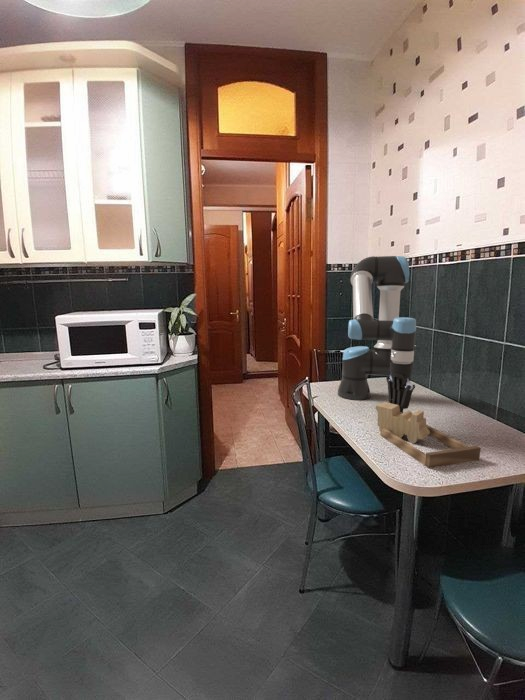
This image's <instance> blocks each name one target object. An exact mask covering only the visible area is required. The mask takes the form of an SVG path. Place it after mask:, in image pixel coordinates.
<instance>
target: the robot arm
mask: <svg viewBox="0 0 525 700" xmlns="http://www.w3.org/2000/svg"><path fill="white" fill-rule="evenodd" d="M408 261H409V260H408V259H407V258H406V256H401V255H399V256H397V255H389V256H388V255H387V256H385V255H384V256H374V255H373V256H367V257H365V258H363V259H361V260H360V261H359V262H358V263H357V264H356V265H355V266H354V268H353V269H352V271H351V273H350V284H351V286H352V303H353V304H352V310H353V311H352V313H353V318H352V319H350V320H348V326H347V328H348V330H347V335H348V338H349V339H351V340H357V341H361V340H362V341H363V340H364V341H365V340H367V341H377V342H376V344H375V345H373V349H370V347H369V346H362V345H359V346H351V347H348V348H345V349H344V350H343V353H342V354H343V355H342V370H341V371H342V373H341V379H340V383H339V386H338V389H337V395H338V396H339V397H341V398H343V399H348V400H355V401H358V400H359V401H361V400H367V399H370V398H371V390H370V386H369V382H368V376H383V377H385V376H386V377H385V379H386V382H387V391H388V392H387V393H388V403H392V404H396V405H399V406H400V412H403V413H404V410H406V409H408V408H409V406H410V402H411V398H412V394H413V391H414V390H415V388H416V386H415V384H412V382H411V374H413V369H414V368H413V367H414V364H413V362H414V358H415V356H414V355H415V344H416V332H417V320H416V318H413V317H400V305H401V291H402V290H403V289H404V288H405V284H407V283H409V280H410V265H409V262H408ZM375 283H376V287H377V288H378V290H379V312H378V320H376V319H375V320H374V310H373V296H372V295H373V294H372V284H375Z"/></svg>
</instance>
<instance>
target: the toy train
mask: <svg viewBox="0 0 525 700" xmlns="http://www.w3.org/2000/svg"><path fill="white" fill-rule="evenodd" d="M375 411H377V423H376V424H377V426H378V428H379V431H380V432H381V428H385V429H387V430H388V431H390V432H391V433H393V434H395V435H396V436H398V437H399V438H401V439H403V437H404V436H406V437H407V441H408V443H409V442H410V444H415V443H417V442H418V441H419V440H421V441H422V440H424V439H426V437H428V436H429V434H430V431H429V429H428V428H427V426H426V425H427V418H426V417H424V414H425V411H424V410H421V409H418V410H417V411H415V412H412V411H411V410H406V411H403V412H400V406H399V405H396V404H392V403H389V402H387V401H383V402H382V403H380V404H377V405H376V406H375ZM380 432H379V433H380Z"/></svg>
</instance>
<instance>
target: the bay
mask: <svg viewBox="0 0 525 700" xmlns="http://www.w3.org/2000/svg"><path fill="white" fill-rule="evenodd" d="M426 426H427V428H428V429H429V431H430V434H429V435H428V436H430V437H431V438H433V439H435V440H436V441H439V442H440V443H442V444H443V445H446V446H447V447H449V448H451V449H445V450H436V451H429V452H426V453H425V452H422V450H420V449H418V448H416V447H415V446H414V445H412V444H411V443H409V442H407V441H406V440H404V439H403V438H399V437H398V436H396V435H395V434H393V433H392V432H390V431H388V430H387V429H385V428H381V432H379V433H380V434H379V435H380V436H381V437H382V438H384V439H385V440H387V441H388V442H390V443H391V444H392V445H394V446H395V447H397V448H398V449H400V450H402V452H404V453H405V454H407V455H409V456H410V457H411V458H413V459H414V460H416V461H417V462H419V463H420V464H422V465H423V466H424V467H426V468H428V469H433V468H438V467H446V466H451V465H459V464H464V463H472V462H477V461H480V457H481V451H482V450H481V447H480V446H478V445H472V446H469V445H467V444H464V443H463V442H462V441H459V440H457V439H455V438H453V437H451V436H450V435H448V434H445V433H444V432H441V431H439V430H438V429H436V428H434V427H432V426H430V425H428V424H426Z"/></svg>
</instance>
